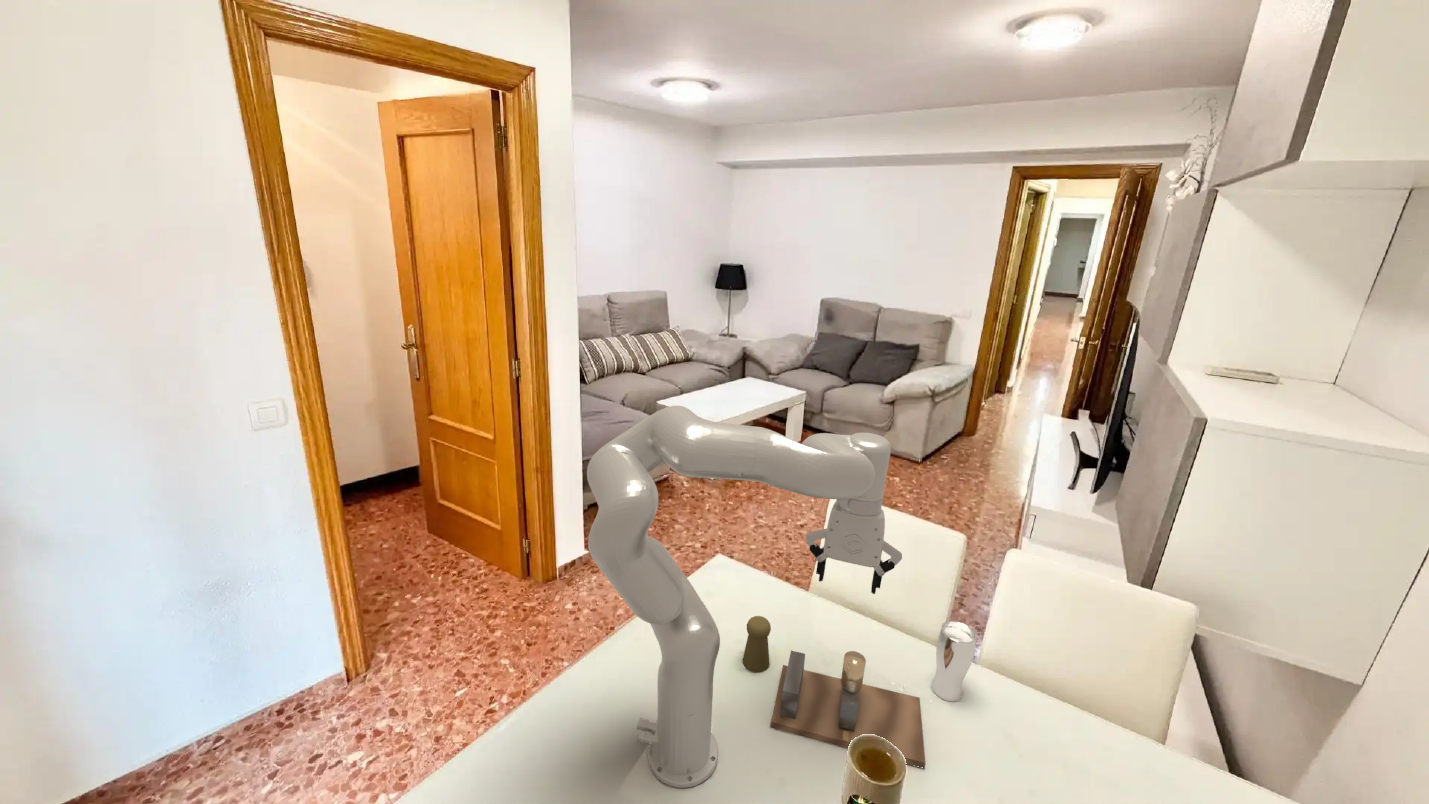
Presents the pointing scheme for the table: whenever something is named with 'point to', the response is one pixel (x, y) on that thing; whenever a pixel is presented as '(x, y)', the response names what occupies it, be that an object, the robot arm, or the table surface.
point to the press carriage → (851, 688)
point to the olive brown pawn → (757, 645)
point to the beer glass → (953, 659)
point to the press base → (815, 710)
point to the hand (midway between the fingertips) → (847, 583)
